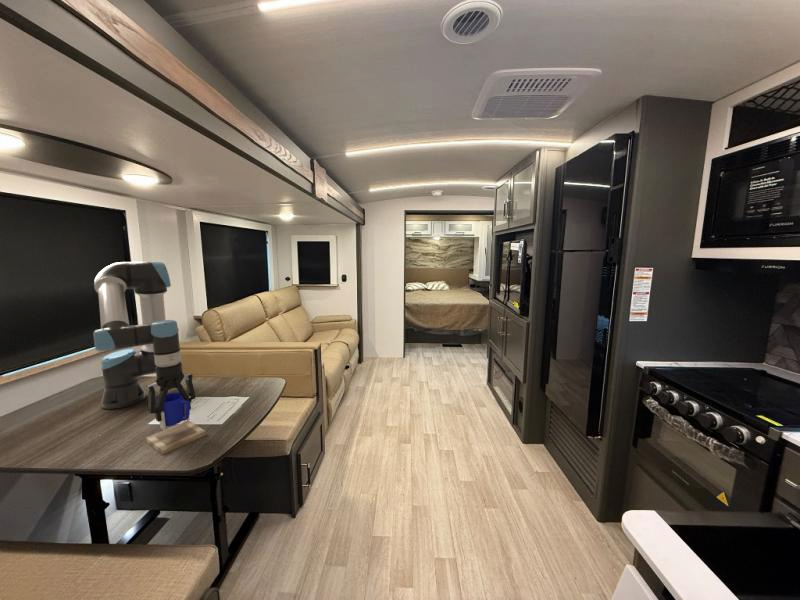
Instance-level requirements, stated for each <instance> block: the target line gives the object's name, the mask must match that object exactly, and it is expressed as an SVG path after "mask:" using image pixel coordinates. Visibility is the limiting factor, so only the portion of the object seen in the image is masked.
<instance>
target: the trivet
mask: <svg viewBox="0 0 800 600" xmlns="http://www.w3.org/2000/svg"><path fill="white" fill-rule="evenodd" d="M206 435H207V431H206V430H205V429H203V428H201V427H200V426H198V425H197V424H195V423H193V422H192V421H190V420H185V421H182V422H180V423H178V424H176V425H173V426H169V427H168V428H166V429H165V430H163V429H162V430H160V431H159V432H155V433H153V434H151V435H149V436H146V437H145V442H147V443H148V444H149V445H150V446H151V447H153V449H155V450H156V451H158V453H160V454H161V455H165V454H168V453H169V452H171V451H174V450H176V449H178V448H180V447H182V446H185V445H187V444H190V443H191V442H193V441H196V440H198V439H200V438H202V437H205V436H206Z"/></svg>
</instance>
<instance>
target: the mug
mask: <svg viewBox="0 0 800 600" xmlns="http://www.w3.org/2000/svg"><path fill="white" fill-rule="evenodd" d="M156 403H157V399H155V404H156ZM184 404H186V417H185V418H184ZM161 411H163V412H164V416H165V425H166V427H173V426H175V425H178V424H180V423H182V422H185V421H188V420H187V419H188V418H189V419H190V414H191V413H190V412H191V410H190V402H189V401H186V400H184V397H183V396H181V394H180V393H179V392H171V393H167V394H166V397H165V400H164V404H163V407H162V410H161Z"/></svg>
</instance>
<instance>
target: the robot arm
mask: <svg viewBox="0 0 800 600" xmlns="http://www.w3.org/2000/svg"><path fill="white" fill-rule="evenodd" d="M171 286H172V285H171V278H170V275H169V272H168V267H167V265H166V264H165V263H164V262H162V261H122V262H121V261H120V262H114V263H111V264H110V265H107V266H105V267H104V268H103V269H101V270H100V271H99V272H98V273H97V275H96V276H95V278H94V282H93V287H94V288H93V289H94V290H95V291H96V293H97V295H98V304H99V306H98V307H99V316H100V329H95V330H94V331H93V342H94V343H93V345H94V348H95V350H96V351H98V352H107V351H113V352H111V353H109V354H107V355H105V356H103V357H102V359H101V360H100V362H101V370H102V378H103V385H104V391H103V395H102V398H101V401H100V402H101V403H100V404H101V408H102V407H103V408H102V409H105V410H113V409H114V410H115V408H116V409H122V408H125V407H129V405H130V406H132V405H135V404H137V403H140V402H141V401H143V400H144V399H145V398H146V391H145V389H144V388H143V386H142V385H141V383H140V382H139V377H143V376H148V375H154V374H156V375H155V376H156V379H155V382H153V383H152V384H147V385H145V386H146V389H147V392H148V393H147V411H148V413H149V414H151V415H152V414H155V415H154V416H155V420H156V421H157V422H158V423H159V427H160V429H161V430H162V431H163V430H165V429H167V426H166V425H165V416H164V412H163V411H161V410H162V407H163V404H164V400H165V397H166V394H169V393H168V392H169V391H170V390H172V389H177V391H178V393H180V394H181V396H183V397H184V400H186V401H189V402H190V411H191V410H192V407H191V406H192V405H191V403H192V402H193V401H192V400H195V399H196V398H197V396H196V391H195V388H194V383H193V374H191V373H186V374H184V373H183V363H182V356H181V347H180V340H179V339H180V336H179V335H180V334H179V332H180V331H179V330H180V329H179V327H178V322H177V321H176V320H173V319H166V313H165V312H166V309H165V300H164V294H166V293H167V291H168V288H171ZM126 290H133V292H134V294H136V295H138V297H139V305H140V313H141V322H142V324H138V325H134V324H133V325H130V321H129V315H128V309H127V303H126V293H125V292H126ZM140 346H141V347H140ZM133 347H140V351H139V350H138V351H136V350H135V349H133ZM120 349H121V350H120ZM115 350H117V351H115ZM183 380H184V381H185V385H186V388H187V392H188V393H187V392H186V390H185V388H184V386H183V385H182V381H183ZM157 386H158V387H159V393H158V397H157V398H156V390H157ZM156 400H157V403H156ZM185 417H186V404H184V418H185ZM188 420H189V421H190V417H189V418H188V419H187V420H186V421H188Z"/></svg>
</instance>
